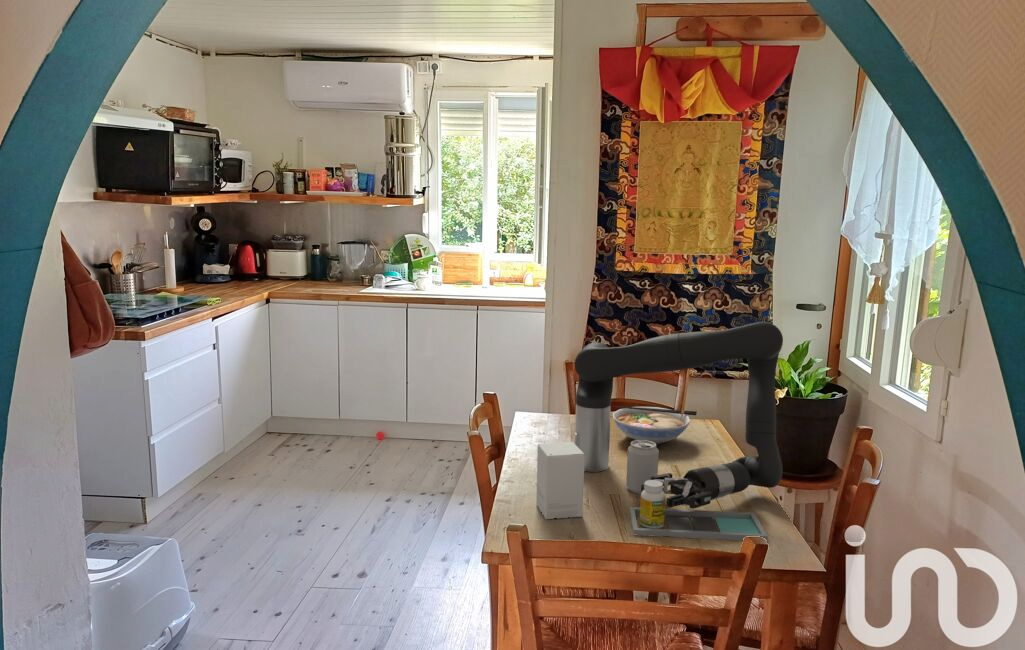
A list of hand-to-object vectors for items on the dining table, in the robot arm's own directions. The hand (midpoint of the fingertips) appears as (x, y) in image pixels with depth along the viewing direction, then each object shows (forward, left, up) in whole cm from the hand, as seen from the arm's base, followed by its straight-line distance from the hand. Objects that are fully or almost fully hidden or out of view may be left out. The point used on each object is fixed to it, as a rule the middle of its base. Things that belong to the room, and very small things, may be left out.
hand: (654, 495), depth 165 cm
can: (-1, +20, -7) cm, 21 cm away
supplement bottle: (0, 0, -7) cm, 7 cm away
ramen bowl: (+5, +59, -7) cm, 59 cm away
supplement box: (-21, +5, -7) cm, 22 cm away
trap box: (+9, 0, -7) cm, 11 cm away
